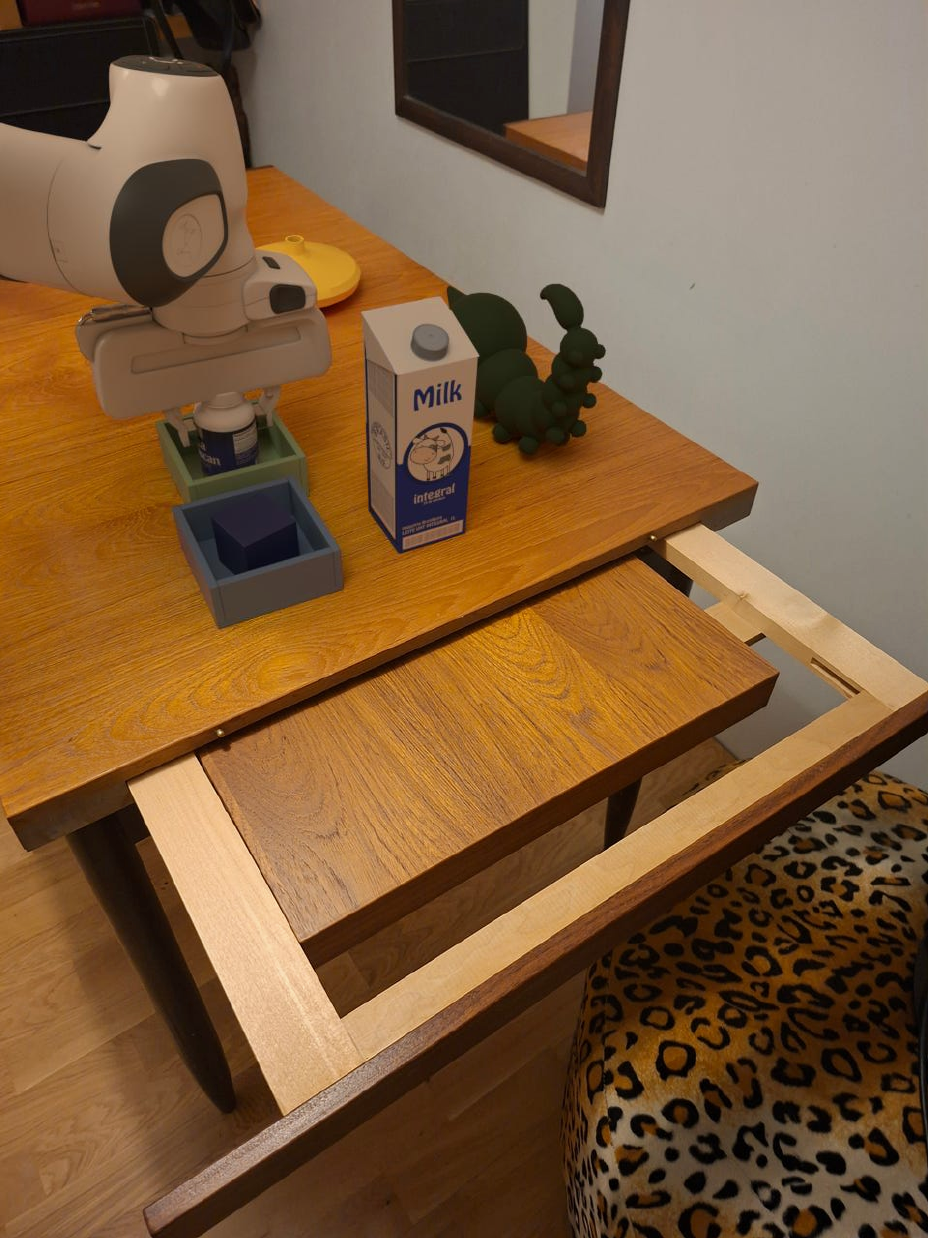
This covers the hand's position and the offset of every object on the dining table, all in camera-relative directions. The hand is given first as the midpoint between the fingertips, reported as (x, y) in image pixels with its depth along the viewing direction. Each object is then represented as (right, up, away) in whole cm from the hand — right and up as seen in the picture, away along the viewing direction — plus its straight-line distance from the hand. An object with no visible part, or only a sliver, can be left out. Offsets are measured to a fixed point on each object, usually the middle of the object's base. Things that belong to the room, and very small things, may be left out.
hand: (227, 433), depth 80 cm
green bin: (0, -3, +4) cm, 5 cm away
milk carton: (+17, -8, +1) cm, 19 cm away
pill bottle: (0, -3, +3) cm, 5 cm away
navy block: (+4, -12, -5) cm, 14 cm away
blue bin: (+4, -13, -5) cm, 14 cm away
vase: (+1, +24, +30) cm, 38 cm away
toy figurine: (+26, +5, +14) cm, 30 cm away
